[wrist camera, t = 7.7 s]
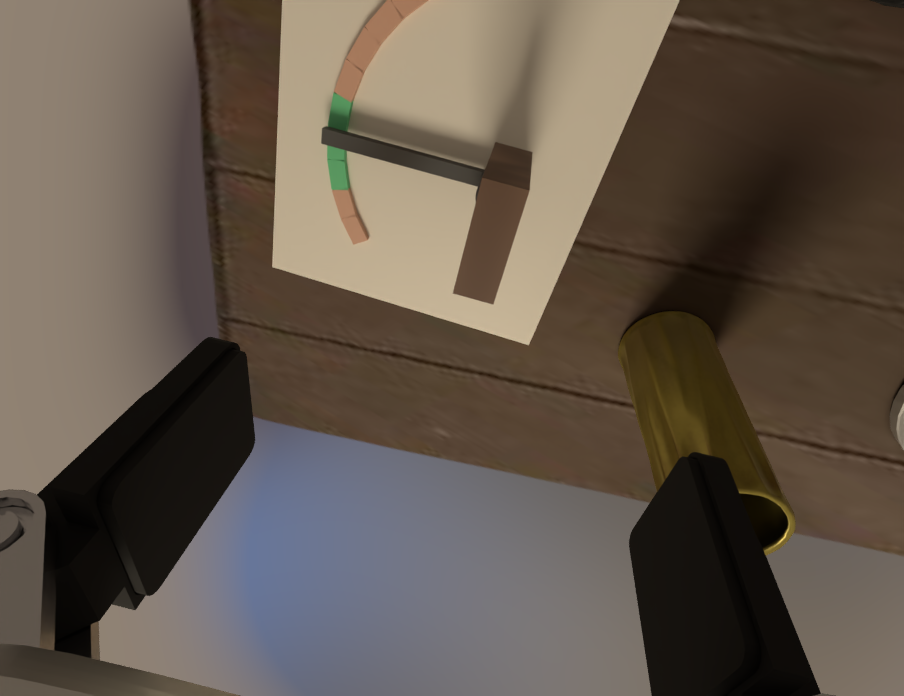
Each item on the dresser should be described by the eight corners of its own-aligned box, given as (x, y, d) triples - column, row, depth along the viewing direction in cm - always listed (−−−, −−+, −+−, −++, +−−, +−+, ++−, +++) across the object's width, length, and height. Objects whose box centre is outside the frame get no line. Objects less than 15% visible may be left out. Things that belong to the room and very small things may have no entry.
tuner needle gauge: (539, 139, 25) (537, 192, 18) (511, 228, 28) (500, 306, 21) (331, 82, 25) (242, 111, 18) (325, 177, 28) (246, 236, 21)
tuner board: (676, -10, 22) (686, -11, 21) (529, 333, 34) (528, 348, 33) (301, -131, 22) (283, -141, 21) (282, 257, 34) (269, 269, 32)
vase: (665, 292, 31) (737, 461, 19) (735, 341, 32) (843, 528, 20) (599, 354, 34) (627, 530, 23) (664, 396, 35) (723, 584, 24)
